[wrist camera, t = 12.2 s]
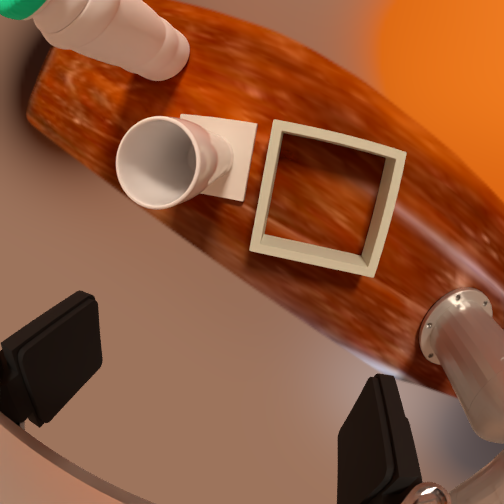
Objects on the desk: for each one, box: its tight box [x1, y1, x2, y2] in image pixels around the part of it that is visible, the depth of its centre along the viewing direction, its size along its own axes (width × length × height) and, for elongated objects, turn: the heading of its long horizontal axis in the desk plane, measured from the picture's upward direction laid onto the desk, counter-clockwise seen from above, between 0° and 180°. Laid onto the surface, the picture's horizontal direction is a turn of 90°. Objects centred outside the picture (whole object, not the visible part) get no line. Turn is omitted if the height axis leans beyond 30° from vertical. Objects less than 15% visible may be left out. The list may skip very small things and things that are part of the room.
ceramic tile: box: [180, 114, 258, 201], centre depth 34 cm, size 9×9×1 cm
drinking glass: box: [116, 116, 234, 209], centre depth 27 cm, size 7×7×15 cm
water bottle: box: [0, 0, 190, 81], centre depth 20 cm, size 7×7×25 cm
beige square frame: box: [249, 120, 407, 278], centre depth 32 cm, size 14×14×4 cm
